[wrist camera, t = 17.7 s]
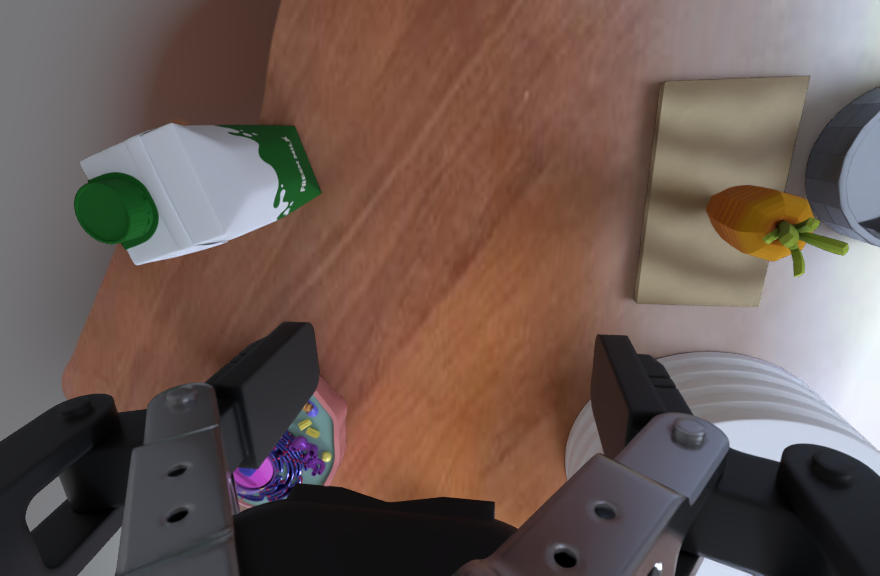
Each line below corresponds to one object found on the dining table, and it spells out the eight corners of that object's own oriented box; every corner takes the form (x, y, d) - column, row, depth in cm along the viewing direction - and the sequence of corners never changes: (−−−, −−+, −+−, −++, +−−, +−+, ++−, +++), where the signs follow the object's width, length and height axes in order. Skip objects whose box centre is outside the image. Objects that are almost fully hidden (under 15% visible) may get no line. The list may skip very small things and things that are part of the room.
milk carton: (224, 143, 47) (36, 157, 29) (300, 112, 45) (150, 106, 26) (260, 224, 50) (109, 286, 31) (334, 198, 47) (219, 249, 29)
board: (660, 82, 40) (664, 81, 38) (802, 76, 38) (810, 75, 37) (633, 299, 46) (636, 303, 45) (752, 302, 45) (758, 307, 44)
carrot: (757, 197, 40) (886, 238, 26) (711, 240, 42) (809, 299, 28) (716, 161, 40) (825, 184, 26) (671, 206, 42) (750, 249, 28)
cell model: (399, 400, 55) (371, 467, 44) (304, 486, 62) (261, 561, 51) (288, 305, 53) (232, 352, 42) (203, 405, 60) (137, 467, 49)
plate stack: (824, 322, 44) (923, 386, 34) (847, 541, 52) (933, 650, 41) (537, 383, 51) (543, 452, 40) (595, 568, 59) (613, 667, 48)
